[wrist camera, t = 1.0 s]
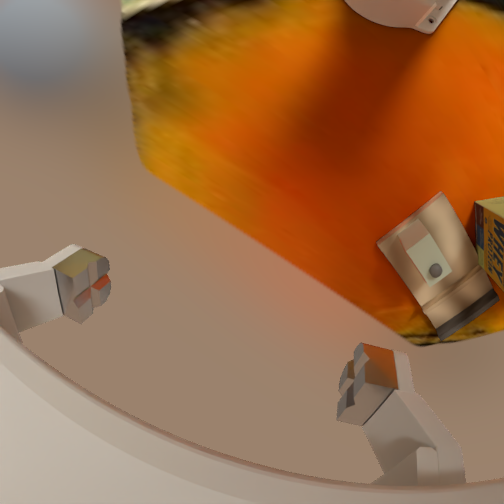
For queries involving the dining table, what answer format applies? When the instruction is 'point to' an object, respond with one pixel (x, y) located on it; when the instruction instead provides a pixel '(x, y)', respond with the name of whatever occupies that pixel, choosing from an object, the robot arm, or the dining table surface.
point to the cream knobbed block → (424, 253)
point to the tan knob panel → (458, 258)
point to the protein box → (490, 237)
